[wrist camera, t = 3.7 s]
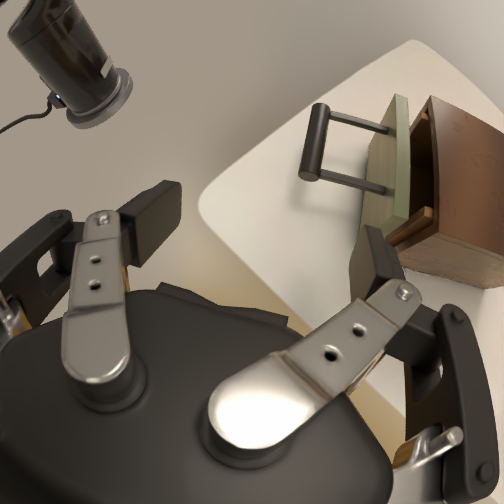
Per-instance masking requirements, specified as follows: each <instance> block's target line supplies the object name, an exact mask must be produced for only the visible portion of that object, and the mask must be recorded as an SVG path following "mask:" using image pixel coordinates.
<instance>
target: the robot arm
mask: <svg viewBox="0 0 504 504" xmlns="http://www.w3.org/2000/svg"><path fill="white" fill-rule="evenodd" d="M7 1H8V0H0V7H1V6H2V5H3V4H5V3H6V2H7ZM7 36H8V38H9V40H10V41H11V43H12V44H13V45H14V46H15V47H16V48H17V49H18V51H19V52H20V53H21V54H22V55H23V56H24V58H25V59H26V60H27V61H28V62H29V63H30V65H31V66H32V67H33V68H34V69H35V70H36V71H37V73H38V74H39V75H40V79H41V80H42V81H43V82H44V83H45V84H46V85H47V87H48V88H49V89H50V90H51V93H50V94H49V96H48V98H47V99H48V102H47V106H48V109H47V110H46V112H44V113H42V114H34V115H26V116H24V117H21V118H19V119H18V120H16V121H14V122H12V123H10V124H9V125H7V126H5V127H4V128H2V129H1V130H0V134H1V133H2V132H4V131H5V130H7V129H9V128H10V127H12V126H14V125H16V124H18V123H20V122H22V121H24V120H27V119H35V118H43V117H45V116H47V115H48V114H49V113H50V112H51V110H52V105H53V106H54V107H55V108H56V109H57V108H65V107H66V108H67V109H68V110H71V112H72V113H73V114H74V115H75V116H77V117H86V116H89V115H92V114H94V113H96V112H97V111H99V110H100V109H102V108H103V107H105V106H106V105H107V104H108V103H109V102H110V101H111V100H112V99H113V98H114V97H115V95H116V94H117V93H118V91H119V89H120V87H121V84H122V78H121V76H120V74H119V73H118V72H117V71H116V69H115V67H114V66H113V61H112V59H111V57H110V56H109V57H108V56H107V54H106V52H105V51H104V49H103V48H102V46H101V44H100V43H99V41H98V39H97V38H96V36H95V34H94V33H93V31H92V29H91V28H90V26H89V24H88V23H87V21H86V20H85V18H84V16H83V15H82V13H81V11H80V9H79V8H78V6H77V4H76V3H75V1H74V0H28V2H27V4H26V5H25V7H24V8H23V10H22V11H21V12H20V14H19V15H18V16H17V18H16V19H15V20H14V22H13V23H12V25H11V26H10V28H9V30H8V32H7ZM51 103H52V104H51ZM181 197H182V187H181V184H180V183H179V182H174V181H167V180H163V181H162V182H160V183H159V184H158V185H156V186H154V187H153V188H151V189H148V190H146V191H143V192H141V193H140V194H138V195H137V196H136V197H134V198H133V199H131V200H130V201H129V202H127V203H126V204H124V205H123V206H122V207H120V208H119V209H118V210H116V211H113V210H102V211H98V212H95V213H93V214H91V215H90V216H88V218H87V219H86V221H85V222H73V219H72V214H71V212H70V211H68V210H57V211H53V212H51V213H49V214H47V215H46V216H44V217H43V218H42V219H40V220H39V221H38V222H36V223H35V224H34V225H33V226H31V227H30V228H29V229H27V230H26V231H25V232H24V233H23V234H21V235H20V236H19V237H18V238H16V239H15V240H14V241H13V242H12V243H11V244H9V245H8V246H7V247H6V248H5V249H3V250H2V251H1V252H0V504H470V503H473V502H475V501H478V500H480V499H483V498H485V497H487V496H489V495H490V494H491V493H492V492H493V490H494V489H495V487H496V485H497V483H498V479H499V452H498V440H497V431H496V424H495V417H494V410H493V405H492V399H491V394H490V389H489V385H488V380H487V376H486V372H485V368H484V364H483V360H482V356H481V353H480V349H479V346H478V343H477V339H476V336H475V333H474V330H473V327H472V324H471V321H470V319H469V317H468V316H467V314H466V313H465V312H464V311H463V310H462V309H460V308H459V307H457V306H455V305H453V304H445V305H443V306H442V308H441V309H440V311H439V312H436V311H434V310H432V309H430V308H428V307H426V306H424V305H423V304H421V302H422V297H421V294H420V292H419V291H418V289H417V288H416V287H415V286H413V285H412V284H411V283H409V282H407V281H406V280H405V276H404V273H403V270H402V267H401V265H400V261H399V259H398V255H397V252H396V250H395V249H394V248H393V246H392V245H391V244H390V243H389V242H385V240H384V237H383V234H382V231H381V229H380V228H377V227H373V226H370V225H366V224H364V225H363V226H362V228H361V230H360V233H359V236H358V239H357V242H356V244H355V247H354V250H353V252H352V255H351V259H350V263H349V277H350V292H351V303H350V304H349V305H348V306H346V307H345V308H344V309H342V310H341V311H340V312H338V313H337V314H336V315H334V316H333V317H332V318H330V319H329V320H327V321H326V322H325V323H323V324H322V325H321V326H319V327H318V328H316V329H315V330H314V331H312V332H311V333H309V334H308V335H306V336H305V337H303V336H302V335H301V334H299V333H298V332H296V331H295V330H293V329H291V328H289V327H287V322H288V316H284V315H280V314H276V313H272V312H268V311H264V310H260V309H256V308H243V307H230V306H220V305H217V304H215V303H213V302H211V301H209V300H207V299H205V298H204V297H202V296H200V295H198V294H196V293H194V292H192V291H190V290H187V289H183V288H180V287H177V286H173V285H170V284H167V283H164V282H161V283H160V284H159V286H158V287H157V288H156V290H136V291H131V292H130V287H129V280H128V271H127V266H128V265H132V266H135V267H139V268H141V267H142V265H143V264H144V263H145V262H146V261H147V260H148V259H149V258H150V256H151V255H152V254H153V253H154V252H155V251H156V250H157V249H158V248H159V246H160V245H161V244H162V243H163V242H164V241H165V240H166V239H167V238H168V237H169V236H170V234H171V233H172V232H173V231H174V230H175V229H176V228H177V227H178V225H179V223H180V219H181ZM48 250H49V251H50V254H51V257H52V261H53V264H52V265H51V266H50V267H49V268H48V270H46V271H45V272H44V273H43V274H42V275H41V276H40V277H39V274H38V271H37V263H38V260H39V259H40V258H41V257H42V256H43V255H44V254H45V253H46V252H47V251H48ZM69 289H70V291H69V302H68V311H67V312H65V313H64V315H63V317H61V318H58V319H55V320H53V321H50V322H47V323H45V324H42V325H40V324H41V323H42V322H43V321H44V319H45V318H46V317H47V316H48V314H49V313H50V312H51V310H52V309H53V308H54V307H55V306H56V304H57V303H58V302H59V301H60V300H61V298H62V297H63V296H64V295H65V294H66V293H67V291H68V290H69ZM386 354H388V355H390V356H392V357H394V358H396V359H398V360H400V361H402V362H404V374H405V396H406V436H405V443H404V444H402V445H401V446H400V447H399V448H398V449H397V451H396V453H395V457H394V460H393V464H391V462H390V459H389V457H388V456H387V454H386V452H385V450H384V449H383V448H382V446H381V445H380V443H379V442H378V440H377V439H376V437H375V436H374V434H373V433H372V431H371V430H370V428H369V427H368V425H367V424H366V423H365V421H364V419H363V418H362V416H361V415H360V414H359V412H358V411H357V409H356V407H355V406H354V404H353V403H352V401H351V400H350V398H349V397H348V396H349V395H350V394H351V393H352V392H353V391H354V390H355V388H356V387H358V385H359V384H360V383H361V382H362V381H363V380H364V379H365V378H366V377H367V376H368V375H369V374H370V372H371V371H372V370H373V369H374V368H375V367H376V366H377V365H378V364H379V362H380V361H381V360H382V359H383V358H384V357H385V355H386ZM441 365H442V366H443V374H442V378H441V376H440V369H439V367H440V366H441Z"/></svg>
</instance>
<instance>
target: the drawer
mask: <svg viewBox="0 0 504 504" xmlns="http://www.w3.org/2000/svg"><path fill="white" fill-rule="evenodd" d="M329 119H330V120H334V121H338V122H342V123H346V124H350V125H353V126H357V127H361V128H364V129H367V130H371V131H374V132H376V133H375V135H374V137H373V139H372V141H371V142H370V144H369V151H368V163H367V174H366V181H365V180H362V179H358V178H355V177H351V176H347V175H344V174H340V173H336V172H332V171H328V170H324V169H321V165H322V160H323V154H324V148H325V142H326V136H327V130H328V124H329ZM298 176H299V177H300V178H301V179H303V180H305V181H309V182H315V181H318V179H323V180H327V181H331V182H335V183H339V184H342V185H346V186H350V187H354V188H357V189H361V190H364V191H365V193H364V201H363V209H362V216H361V223H360V230H361V228H362V226H363V225H364V224H366V225H370V226H373V227H377V228H380V229H381V231H382V234H383V237H385V242H389V243H390V244H391V245H392V246H397V245H399V244H400V243H402V242H404V241H405V240H407V239H409V238H410V237H412V236H414V235H415V234H417V233H419V232H420V231H422V230H424V229H425V228H427V227H429V226H430V225H432V224H433V220H434V168H433V150H432V137H431V127H430V119H429V115H428V114H426V113H424V112H421V113H420V114H419V116H418V117H417V119H416V121H415V122H414V124H413V125H412V127H411V128H410V129H409V113H408V101H407V98H406V97H403V96H400V95H398V94H395V95H394V97H393V99H392V101H391V103H390V105H389V107H388V109H387V111H386V113H385V115H384V117H383V119H382V121H381V123H380V124H377V123H374V122H371V121H367V120H364V119H361V118H357V117H353V116H350V115H346V114H342V113H338V112H334V111H331V112H330V108H329V106H328V105H326V104H324V103H316V104H314V105H313V106H312V110H311V115H310V120H309V125H308V129H307V134H306V139H305V144H304V148H303V153H302V158H301V162H300V167H299V171H298ZM360 230H359V233H360Z"/></svg>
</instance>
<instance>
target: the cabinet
mask: <svg viewBox="0 0 504 504" xmlns="http://www.w3.org/2000/svg"><path fill="white" fill-rule="evenodd" d="M421 112H424V113H426V114H428V115H429V119H430V127H431V137H432V150H433V168H434V220H433V224H432V225H430V226H429V227H427V228H425V229H424V230H422V231H420V232H419V233H417V234H415V235H414V236H412V237H410V238H409V239H407V240H405V241H404V242H402V243H400V244H399V245H397V246H393V248H394V249H395V250H396V252H397V255H398V259H399V261H400V265H401V266H402V267H406V268H410V269H414V270H417V271H421V272H425V273H429V274H432V275H436V276H440V277H443V278H447V279H450V280H454V281H458V282H461V283H465V284H468V285H472V286H475V287H479V288H482V289H490V288H496V287H501V286H504V134H503V133H502V132H500V131H499V130H497V129H495V128H494V127H492V126H490V125H489V124H487V123H485V122H483V121H482V120H480V119H478V118H476V117H475V116H473V115H471V114H469V113H467V112H465V111H463V110H461V109H459V108H457V107H455V106H453V105H451V104H449V103H447V102H445V101H443V100H440V99H438V98H436V97H434V96H431V95H430V97H429V99H428V100H427V102H426V103H425V105H424V107H423V108H422V110H421V111H420V113H421ZM420 113H419V114H420ZM419 114H418V116H419ZM418 116H417V117H418ZM417 117H416V119H417ZM416 119H415V121H416ZM415 121H414V122H415ZM414 122H413V124H414ZM413 124H412V125H413ZM412 125H411V127H412ZM411 127H410V128H411ZM410 128H409V129H410Z"/></svg>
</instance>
